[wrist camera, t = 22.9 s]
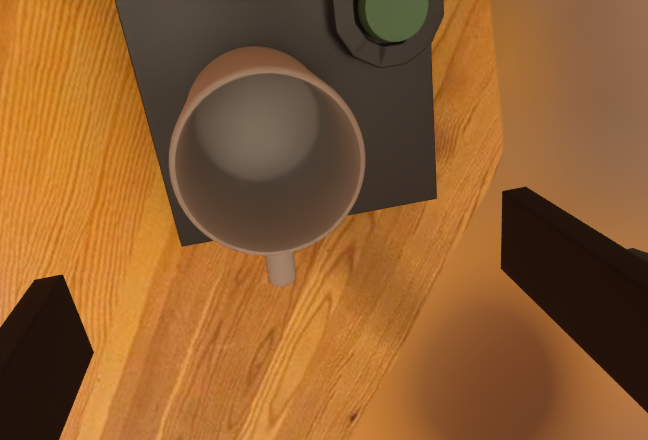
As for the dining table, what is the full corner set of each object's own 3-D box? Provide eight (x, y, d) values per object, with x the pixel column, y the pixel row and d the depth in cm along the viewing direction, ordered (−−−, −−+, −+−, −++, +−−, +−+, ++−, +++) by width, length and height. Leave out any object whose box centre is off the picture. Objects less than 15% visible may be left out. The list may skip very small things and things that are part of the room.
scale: (420, -58, 31) (442, -65, 28) (430, 189, 37) (449, 206, 34) (116, -18, 29) (102, -21, 26) (183, 235, 35) (179, 257, 32)
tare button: (416, -32, 28) (427, -34, 27) (419, 35, 30) (430, 37, 28) (354, -24, 28) (361, -26, 26) (360, 44, 29) (368, 46, 28)
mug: (173, 53, 29) (144, 76, 19) (318, 38, 30) (363, 53, 20) (209, 239, 34) (201, 336, 24) (333, 221, 35) (376, 306, 25)
